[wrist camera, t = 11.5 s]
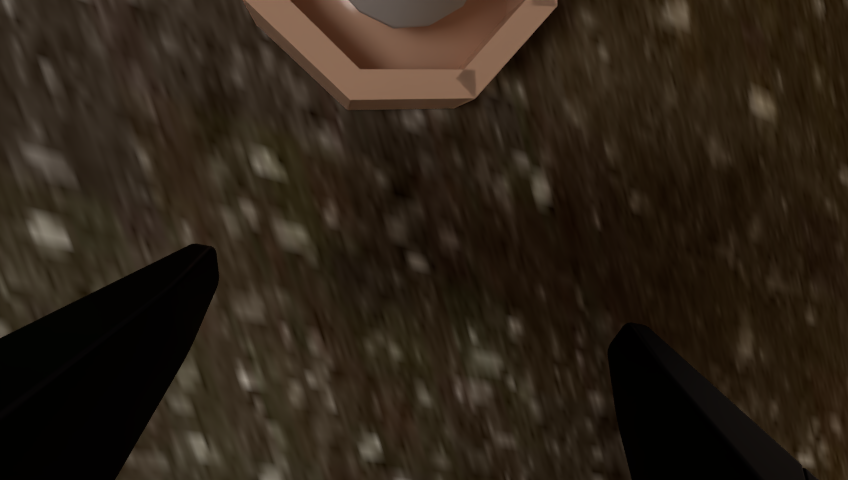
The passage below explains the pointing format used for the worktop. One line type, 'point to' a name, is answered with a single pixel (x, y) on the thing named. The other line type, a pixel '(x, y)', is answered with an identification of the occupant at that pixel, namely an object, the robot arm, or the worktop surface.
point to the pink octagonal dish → (400, 49)
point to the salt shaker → (407, 11)
